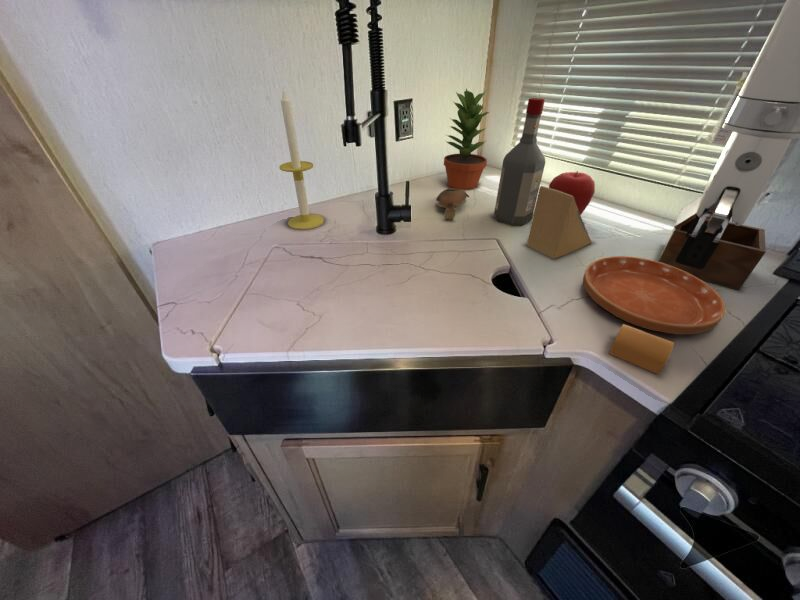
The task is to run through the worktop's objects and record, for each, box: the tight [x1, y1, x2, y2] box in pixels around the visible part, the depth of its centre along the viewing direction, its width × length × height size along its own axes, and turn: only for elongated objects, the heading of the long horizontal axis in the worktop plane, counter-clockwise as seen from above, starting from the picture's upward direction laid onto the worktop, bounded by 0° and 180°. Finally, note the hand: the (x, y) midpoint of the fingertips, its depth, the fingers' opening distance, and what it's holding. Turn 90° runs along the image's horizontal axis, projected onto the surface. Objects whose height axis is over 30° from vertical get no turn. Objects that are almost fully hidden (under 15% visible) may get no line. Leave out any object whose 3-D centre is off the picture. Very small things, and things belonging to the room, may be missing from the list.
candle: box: [278, 87, 325, 230], centre depth 89 cm, size 10×10×32 cm
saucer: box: [582, 255, 727, 335], centre depth 67 cm, size 23×23×4 cm
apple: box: [548, 170, 596, 216], centre depth 97 cm, size 12×12×13 cm
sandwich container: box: [526, 185, 593, 259], centre depth 83 cm, size 9×15×15 cm, turn 123°
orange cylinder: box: [608, 323, 675, 375], centre depth 55 cm, size 7×4×4 cm, turn 51°
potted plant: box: [443, 87, 490, 191], centre depth 115 cm, size 15×15×30 cm
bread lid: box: [673, 195, 702, 229], centre depth 71 cm, size 16×13×5 cm
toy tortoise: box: [435, 187, 470, 221], centre depth 105 cm, size 20×5×10 cm
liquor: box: [493, 97, 546, 227], centre depth 91 cm, size 9×9×30 cm
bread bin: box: [657, 219, 767, 291], centre depth 76 cm, size 15×13×9 cm
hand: (693, 251), depth 49 cm, fingers open, 9 cm apart
